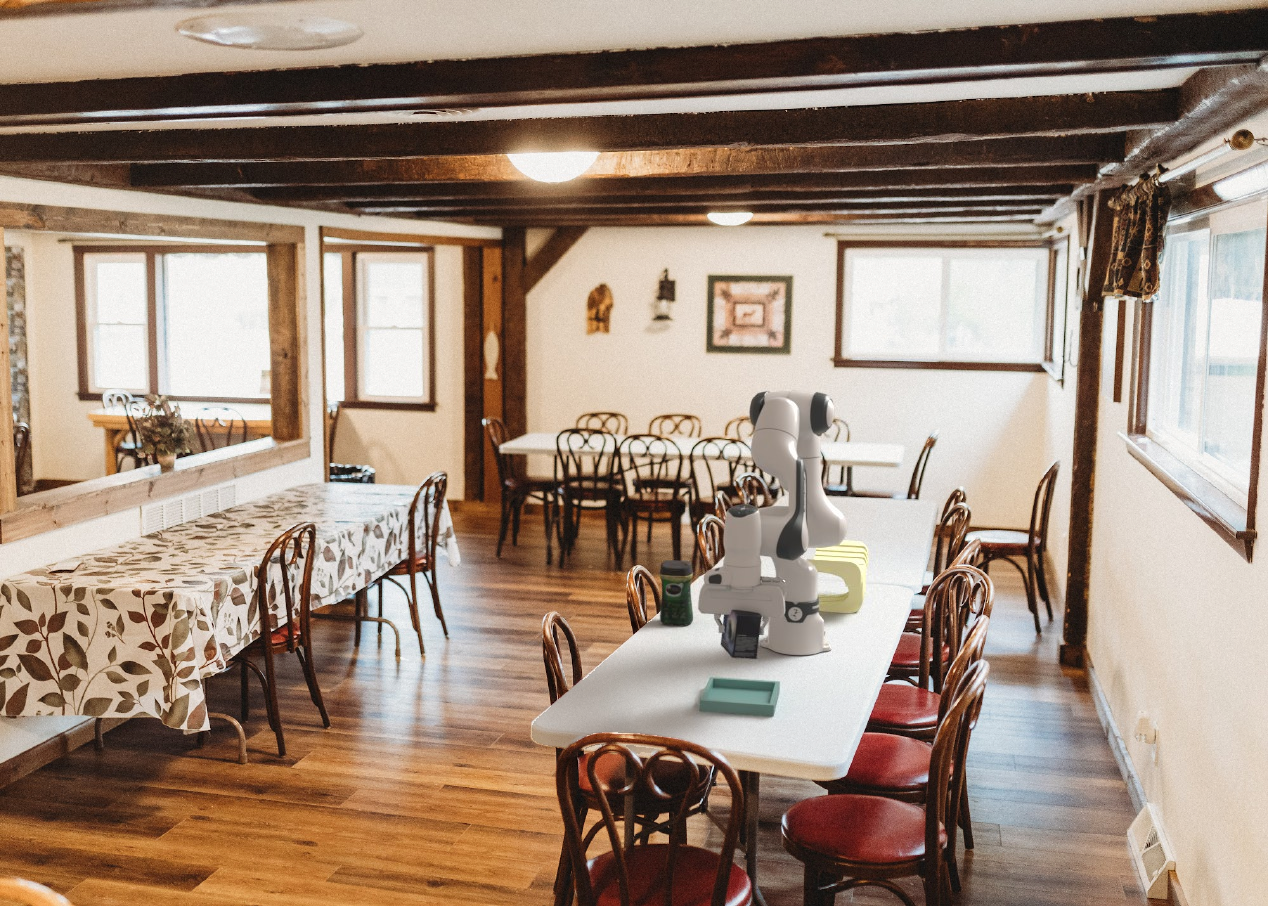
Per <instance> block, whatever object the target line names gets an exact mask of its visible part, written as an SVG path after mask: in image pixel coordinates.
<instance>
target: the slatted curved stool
mask: <svg viewBox="0 0 1268 906" xmlns="http://www.w3.org/2000/svg"><path fill="white" fill-rule="evenodd" d="M815 549H816V550H815V555H814V558H813V559H812V558H807V559H806V560H807V561H808V562H810V563H812V564H813V565H814V566H815V567H816V569H817V571H818V573H824V574H829V575H833V576H836V577H839V578H841V579H842V580H843V582H844V584H845V587H847V589H848V591H847V592H844V593H841V594H831V595H830V594H829V595H828V594H818V598H819V603H820V606H819V611H818V612H827V613H828V612H829V613H843V614H853V613H856V612H858V611H859V610H860V608H861V607H862V606H863V603H864V599H865V595H866V584H867V583H866V580H867V568H868V565H869V548H868V547H867V545H866V544H865V543H863V542H862V541H860V540H859V541H857V540H845V539H844V540H843V542H842V543H841V544H840V545H838V546H833V547H826V548H815Z"/></svg>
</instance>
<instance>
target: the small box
mask: <svg viewBox="0 0 1268 906" xmlns="http://www.w3.org/2000/svg"><path fill="white" fill-rule="evenodd" d="M761 623H762V615H760V614H759V613H756V612H750V611H742V610H732V611H731V614H730V615H723V621H722V624H725V633H721V638H720V646H721V647H722V648H723V650H725V651H726V652H727V654H729V656H730V657H731V658H732V659H745V660H746V659H749V660H757V659H758V650H759V641H760V635H759V633H760V626H762V624H761Z"/></svg>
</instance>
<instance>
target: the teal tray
mask: <svg viewBox="0 0 1268 906" xmlns="http://www.w3.org/2000/svg"><path fill="white" fill-rule="evenodd" d="M780 683H781V681H778V680H776V681H775V680H764V679H763V680H762V679H760V680H759V679H748V678H747V679H746V678H745V679H744V678H734V677H733V678H732V677H717V676H710V677H709V678H708V681H707V682H706V685H705V687H704V689H703V691H702V694H701V697H700V698H699V712H706V713H707V712H710V713H721V714H722V713H723V714H734V715H736V714H737V715H748V716H749V715H750V716H764V717H774V716H775V712H776V708H777V705H778V704H777V703H778V701H779V696H780V692H781V689H780V688H781V687H780V686H781V684H780Z"/></svg>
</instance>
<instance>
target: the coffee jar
mask: <svg viewBox="0 0 1268 906" xmlns="http://www.w3.org/2000/svg"><path fill="white" fill-rule="evenodd" d="M693 576H694V571H693V564H692V562H691V561H689V560H688V561H687V560H673V559H672V560H667V559H665V560H664V561H662V562H661V564H660V571H659V578H660V581H661V599H660V611H659V622H660V623H661V624H663V625H666V626H678V627H680V626H682V627H683V626H688V625H691V624H692V623H693V620H694V612H693V603H692V594H691V593H692V591H691V588H692V587H691V586H692V585H691V584H692V583H691V582H692V579H693Z"/></svg>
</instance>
